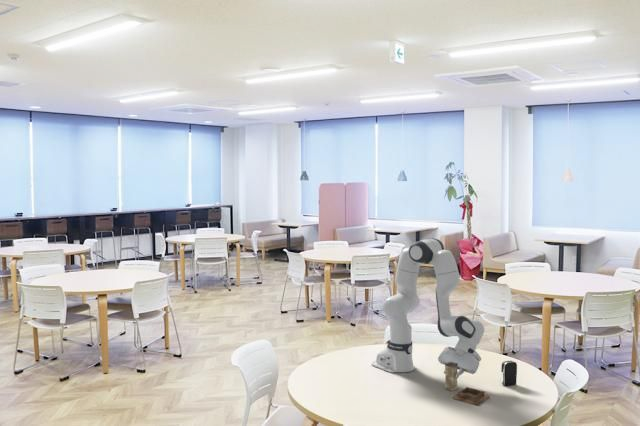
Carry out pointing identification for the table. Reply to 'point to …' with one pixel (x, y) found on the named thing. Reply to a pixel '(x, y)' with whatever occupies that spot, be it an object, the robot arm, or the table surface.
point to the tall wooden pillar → (451, 376)
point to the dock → (471, 396)
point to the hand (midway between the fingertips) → (450, 375)
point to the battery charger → (509, 373)
